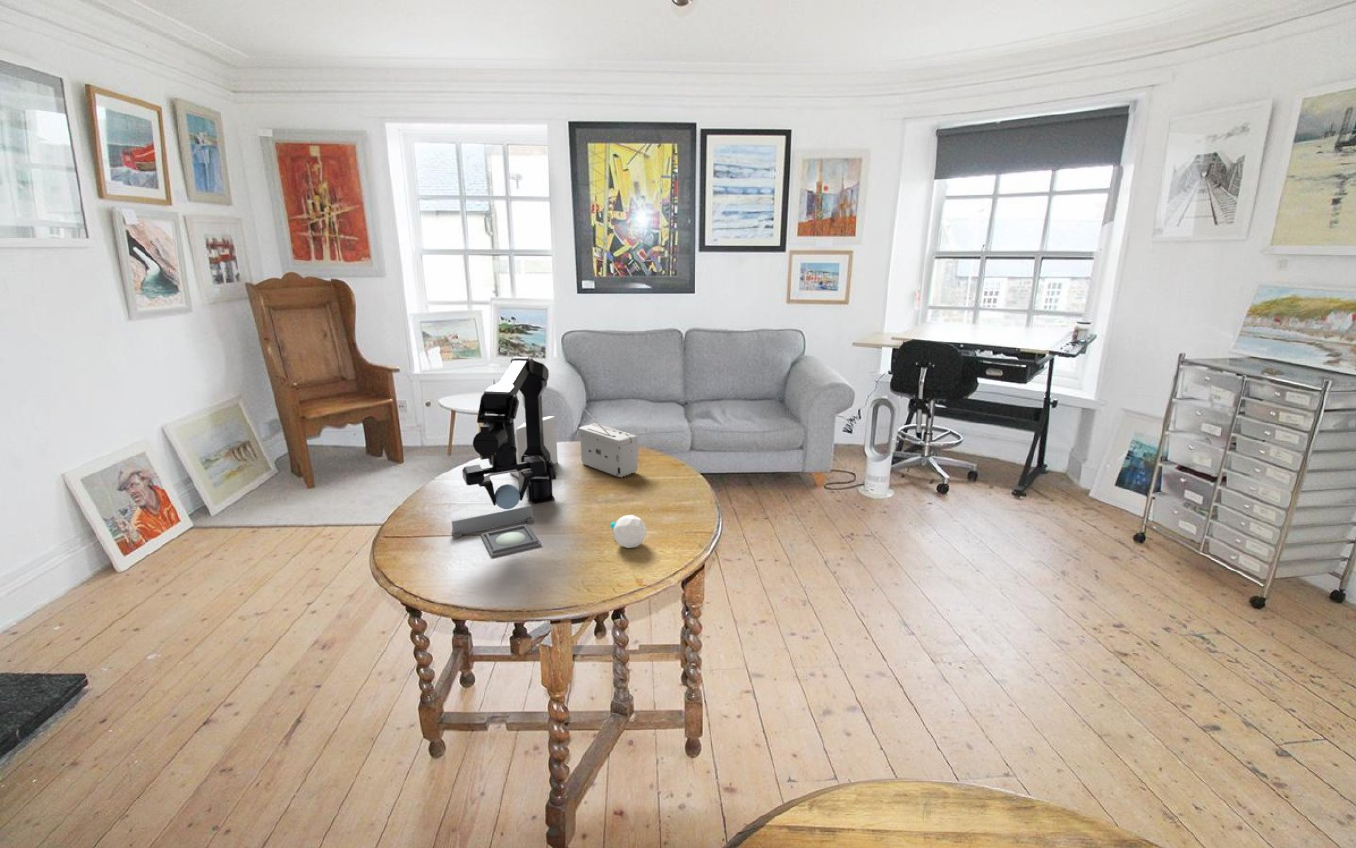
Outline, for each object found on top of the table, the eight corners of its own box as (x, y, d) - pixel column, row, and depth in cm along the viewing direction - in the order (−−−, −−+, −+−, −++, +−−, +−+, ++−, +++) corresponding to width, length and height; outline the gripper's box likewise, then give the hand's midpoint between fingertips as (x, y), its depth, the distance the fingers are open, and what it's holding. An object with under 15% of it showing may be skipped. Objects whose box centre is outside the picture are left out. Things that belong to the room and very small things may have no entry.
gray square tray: (528, 526, 155) (528, 522, 154) (541, 546, 145) (541, 541, 144) (481, 536, 149) (480, 532, 149) (491, 557, 139) (491, 553, 139)
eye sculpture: (534, 456, 206) (531, 410, 201) (559, 463, 199) (557, 416, 194) (495, 470, 192) (490, 422, 188) (520, 478, 186) (516, 429, 181)
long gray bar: (529, 515, 161) (528, 502, 159) (533, 521, 157) (532, 507, 156) (452, 531, 151) (450, 517, 150) (454, 538, 148) (453, 523, 147)
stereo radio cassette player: (639, 473, 191) (638, 414, 185) (620, 480, 185) (619, 419, 179) (596, 458, 204) (594, 402, 198) (577, 464, 198) (575, 407, 193)
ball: (517, 501, 148) (515, 478, 146) (523, 510, 143) (522, 487, 141) (492, 505, 145) (490, 483, 144) (498, 515, 140) (496, 492, 139)
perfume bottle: (621, 546, 138) (592, 534, 146) (645, 555, 143) (616, 543, 152) (634, 514, 139) (605, 504, 148) (657, 525, 145) (628, 515, 153)
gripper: (532, 427, 150) (536, 484, 155) (455, 437, 142) (461, 497, 146) (545, 439, 141) (548, 499, 146) (463, 451, 132) (470, 515, 137)
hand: (507, 502), depth 144 cm, fingers closed on ball, 6 cm apart
